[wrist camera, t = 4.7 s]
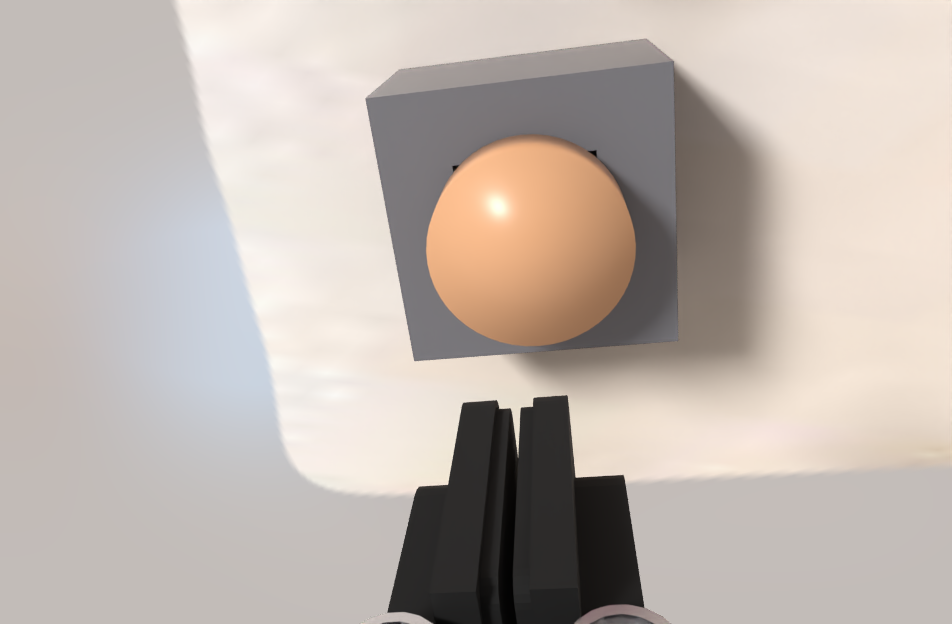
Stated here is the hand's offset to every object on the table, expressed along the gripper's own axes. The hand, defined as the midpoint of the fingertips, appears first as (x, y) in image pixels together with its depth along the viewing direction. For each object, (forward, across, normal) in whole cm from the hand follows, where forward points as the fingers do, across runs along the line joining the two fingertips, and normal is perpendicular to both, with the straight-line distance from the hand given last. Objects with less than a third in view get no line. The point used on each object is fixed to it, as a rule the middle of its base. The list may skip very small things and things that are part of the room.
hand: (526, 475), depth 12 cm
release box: (+19, 0, 0) cm, 19 cm away
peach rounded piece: (+17, 0, 0) cm, 17 cm away
